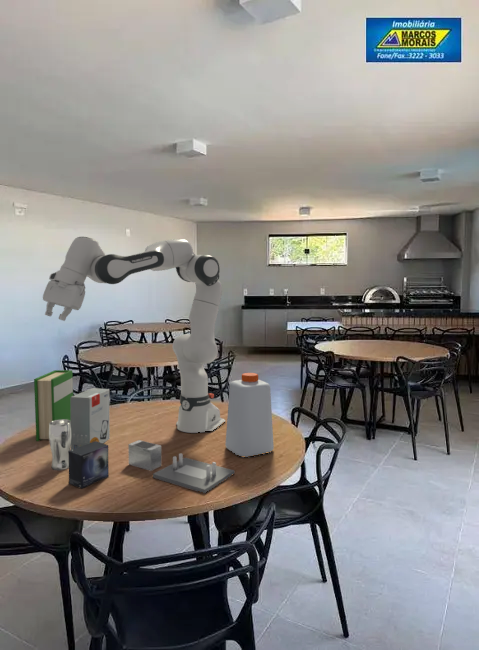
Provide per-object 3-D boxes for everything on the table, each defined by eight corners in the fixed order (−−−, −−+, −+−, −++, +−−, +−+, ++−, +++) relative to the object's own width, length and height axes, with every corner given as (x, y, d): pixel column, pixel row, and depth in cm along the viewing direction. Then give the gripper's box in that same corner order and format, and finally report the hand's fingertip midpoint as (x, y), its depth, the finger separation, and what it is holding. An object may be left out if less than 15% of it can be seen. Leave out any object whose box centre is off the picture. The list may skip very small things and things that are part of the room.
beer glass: (77, 464, 152) (75, 420, 151) (62, 472, 146) (61, 426, 144) (60, 461, 154) (58, 418, 153) (45, 469, 148) (43, 424, 146)
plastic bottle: (278, 452, 164) (279, 376, 161) (241, 460, 156) (242, 380, 154) (256, 440, 177) (257, 368, 174) (221, 446, 170) (221, 372, 167)
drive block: (139, 459, 157) (139, 439, 156) (161, 466, 151) (161, 445, 151) (128, 464, 153) (128, 444, 152) (151, 471, 147) (150, 449, 147)
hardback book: (55, 441, 174) (53, 379, 172) (36, 441, 174) (34, 379, 172) (73, 426, 191) (72, 370, 189) (56, 426, 192) (54, 370, 189)
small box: (82, 489, 134) (81, 455, 133) (67, 484, 137) (66, 450, 136) (110, 476, 143) (109, 444, 142) (95, 472, 146) (95, 440, 145)
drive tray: (185, 460, 156) (185, 446, 155) (234, 474, 145) (234, 458, 145) (152, 477, 142) (152, 461, 142) (204, 493, 132) (204, 476, 131)
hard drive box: (89, 453, 162) (88, 398, 160) (70, 451, 163) (68, 397, 162) (110, 438, 177) (109, 388, 175) (92, 437, 179) (91, 387, 177)
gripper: (94, 287, 152) (78, 325, 150) (63, 281, 165) (48, 316, 163) (78, 279, 147) (61, 319, 145) (48, 273, 160) (32, 310, 158)
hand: (54, 317), depth 154 cm, fingers open, 8 cm apart
